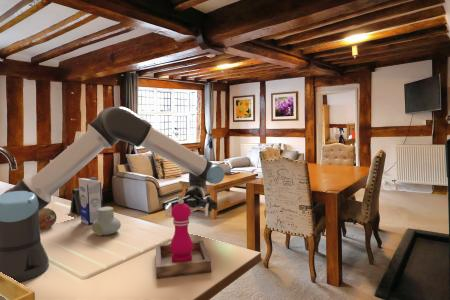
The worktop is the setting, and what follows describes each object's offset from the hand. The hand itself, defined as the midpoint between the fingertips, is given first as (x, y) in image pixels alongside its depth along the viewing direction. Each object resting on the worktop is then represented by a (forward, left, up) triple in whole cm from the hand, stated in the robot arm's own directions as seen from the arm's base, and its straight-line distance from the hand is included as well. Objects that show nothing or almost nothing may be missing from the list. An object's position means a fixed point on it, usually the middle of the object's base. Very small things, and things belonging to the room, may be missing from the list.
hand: (186, 212), depth 108 cm
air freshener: (-30, +24, -14) cm, 40 cm away
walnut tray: (-3, -9, -13) cm, 16 cm away
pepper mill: (-3, -9, -13) cm, 16 cm away
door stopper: (-46, +55, -14) cm, 72 cm away
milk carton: (-38, +39, -14) cm, 56 cm away
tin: (-59, +35, -14) cm, 69 cm away
